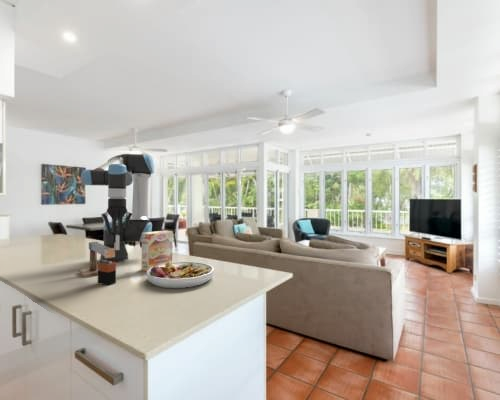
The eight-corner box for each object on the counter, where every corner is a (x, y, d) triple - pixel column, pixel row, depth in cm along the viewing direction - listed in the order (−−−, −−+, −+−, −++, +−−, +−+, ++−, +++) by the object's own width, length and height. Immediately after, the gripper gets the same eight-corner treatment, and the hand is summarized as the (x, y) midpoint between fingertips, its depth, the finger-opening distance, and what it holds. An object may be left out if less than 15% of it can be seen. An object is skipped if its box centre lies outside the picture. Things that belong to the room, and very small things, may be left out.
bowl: (191, 268, 150) (191, 253, 150) (226, 280, 129) (226, 264, 129) (135, 279, 129) (136, 262, 129) (167, 296, 108) (167, 276, 108)
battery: (106, 280, 126) (106, 258, 125) (116, 282, 123) (116, 260, 122) (97, 283, 122) (97, 260, 122) (107, 285, 119) (107, 262, 119)
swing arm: (96, 248, 139) (96, 241, 139) (115, 256, 120) (115, 248, 120) (87, 249, 136) (87, 241, 136) (105, 258, 117) (105, 249, 117)
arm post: (101, 269, 143) (101, 246, 143) (107, 273, 136) (107, 249, 136) (79, 273, 136) (79, 249, 136) (84, 277, 129) (84, 252, 129)
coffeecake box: (148, 272, 140) (148, 233, 140) (140, 269, 144) (141, 232, 144) (173, 266, 152) (173, 231, 152) (165, 264, 156) (165, 230, 156)
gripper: (129, 198, 134) (129, 246, 134) (99, 197, 125) (99, 249, 126) (134, 198, 128) (134, 249, 128) (103, 198, 119) (102, 252, 120)
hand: (116, 249), depth 127 cm, fingers closed
